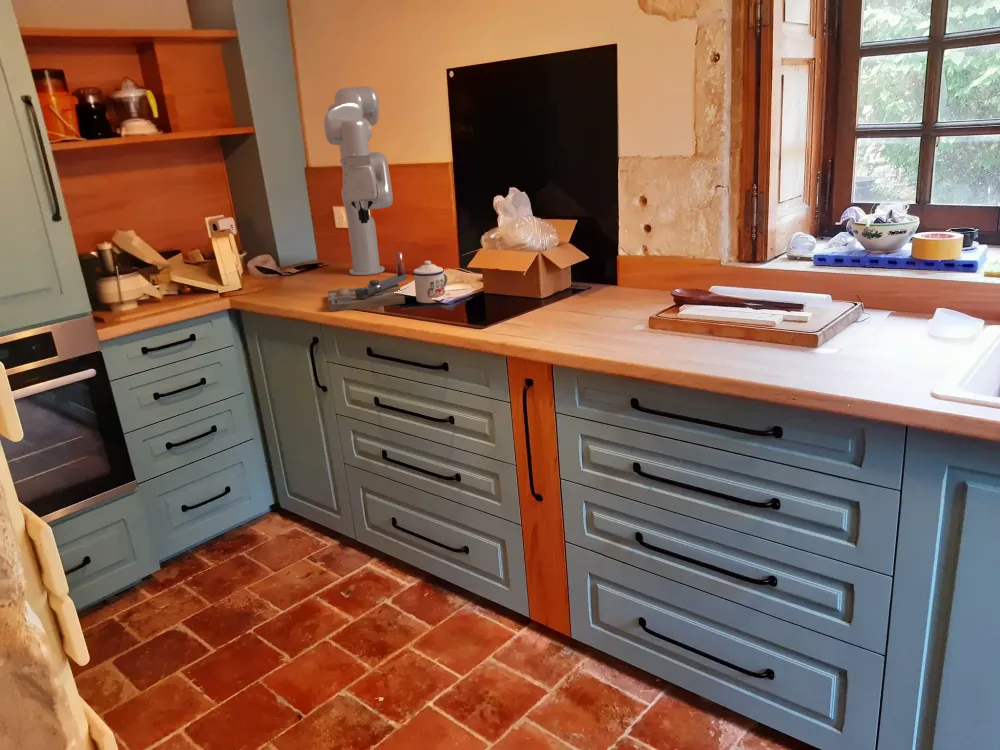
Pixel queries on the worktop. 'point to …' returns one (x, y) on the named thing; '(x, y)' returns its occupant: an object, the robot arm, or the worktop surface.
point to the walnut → (342, 292)
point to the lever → (384, 283)
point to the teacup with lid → (429, 282)
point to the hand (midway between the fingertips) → (364, 222)
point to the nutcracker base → (371, 301)
